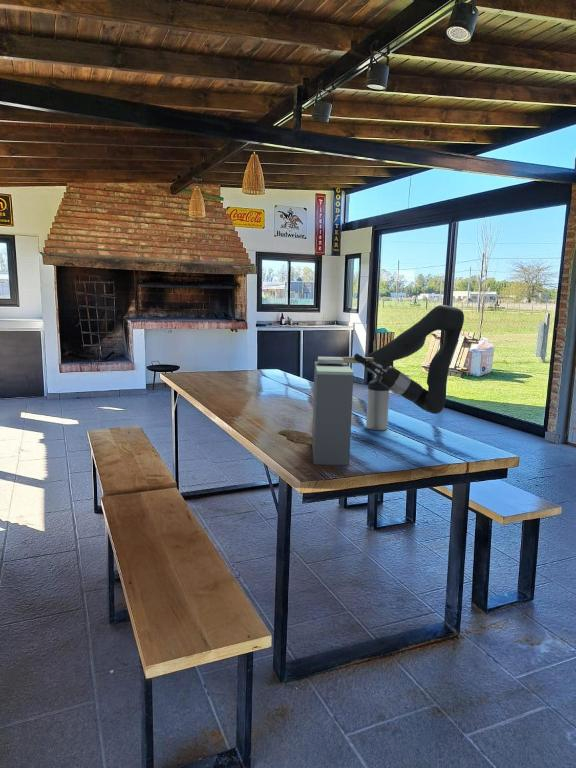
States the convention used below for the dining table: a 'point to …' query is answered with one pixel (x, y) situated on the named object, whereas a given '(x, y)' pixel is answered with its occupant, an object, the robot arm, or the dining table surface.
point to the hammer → (340, 360)
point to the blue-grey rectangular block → (332, 413)
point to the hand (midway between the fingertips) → (355, 355)
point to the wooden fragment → (297, 436)
